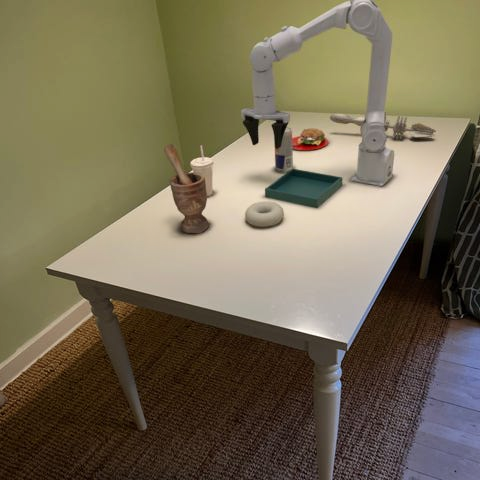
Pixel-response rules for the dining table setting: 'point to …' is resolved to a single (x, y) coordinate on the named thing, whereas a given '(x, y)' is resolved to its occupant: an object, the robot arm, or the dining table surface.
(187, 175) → the mortar and pestle
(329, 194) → the tray
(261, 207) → the donut
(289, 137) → the energy drink
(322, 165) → the dining table surface
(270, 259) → the dining table surface
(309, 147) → the hamburger
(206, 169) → the smoothie
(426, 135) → the cutlery set
